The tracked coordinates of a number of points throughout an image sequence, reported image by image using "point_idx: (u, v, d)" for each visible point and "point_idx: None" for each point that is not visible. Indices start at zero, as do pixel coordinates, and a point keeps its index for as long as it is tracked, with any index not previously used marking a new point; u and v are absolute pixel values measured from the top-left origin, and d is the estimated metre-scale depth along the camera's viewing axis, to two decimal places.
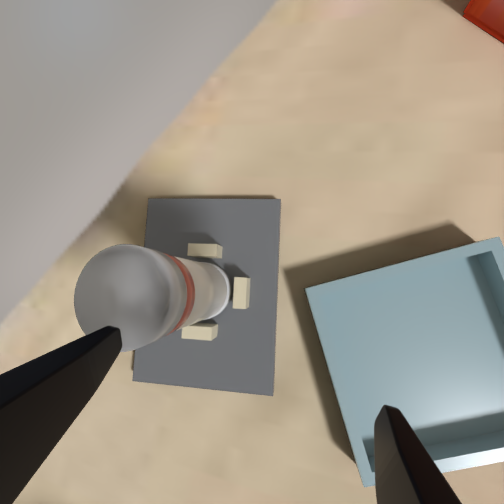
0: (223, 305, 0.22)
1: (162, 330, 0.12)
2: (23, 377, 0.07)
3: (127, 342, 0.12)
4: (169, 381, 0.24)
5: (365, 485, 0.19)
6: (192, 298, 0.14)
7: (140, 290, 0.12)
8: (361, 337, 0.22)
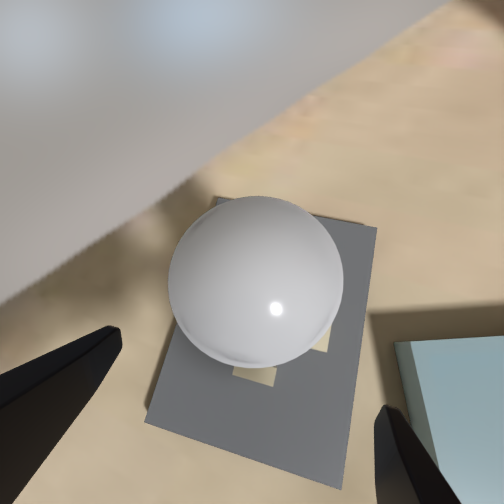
0: None
1: (314, 343, 0.07)
2: (23, 377, 0.07)
3: (251, 352, 0.07)
4: (195, 434, 0.17)
5: None
6: None
7: (286, 270, 0.07)
8: (474, 427, 0.16)
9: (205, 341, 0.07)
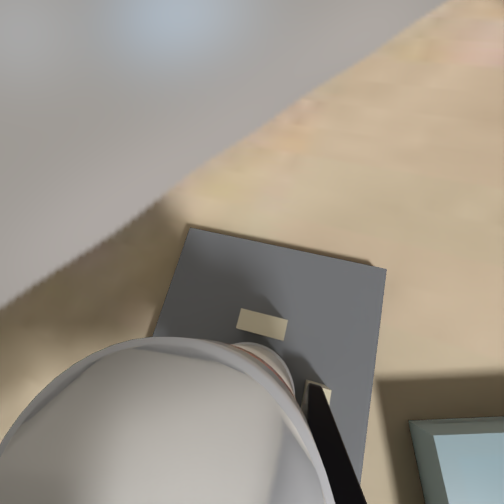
0: None
1: None
2: None
3: None
4: None
5: None
6: None
7: None
8: None
9: None
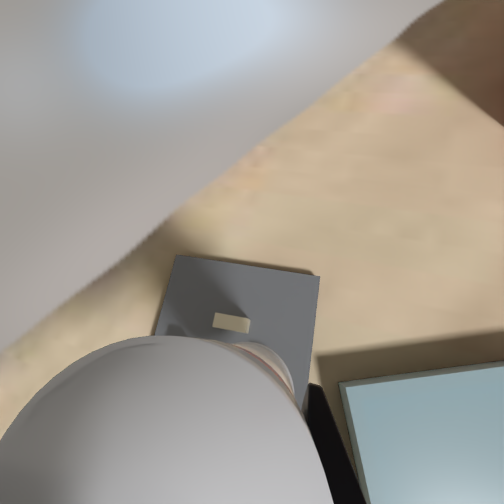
0: None
1: None
2: None
3: None
4: None
5: None
6: None
7: None
8: (406, 458, 0.18)
9: None
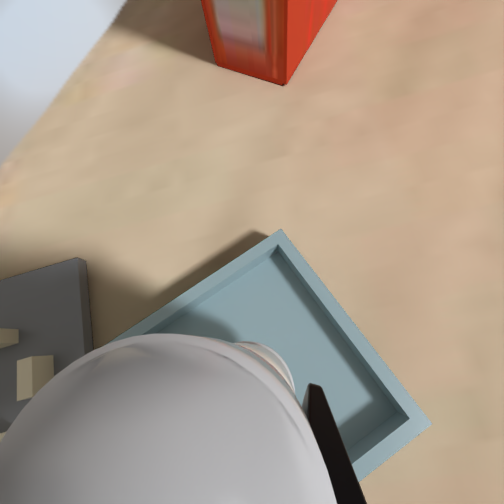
0: None
1: None
2: None
3: None
4: None
5: None
6: None
7: None
8: None
9: None
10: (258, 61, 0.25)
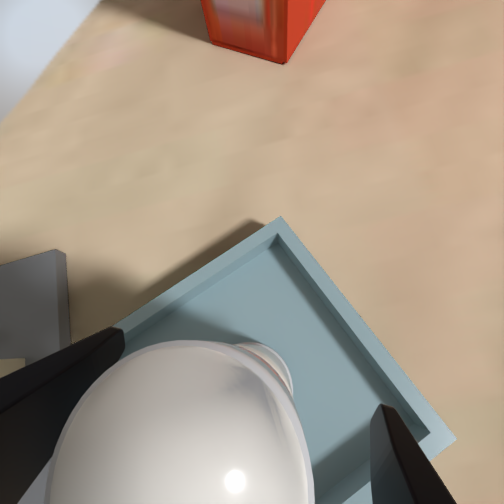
0: None
1: None
2: (27, 378, 0.07)
3: None
4: None
5: None
6: None
7: (225, 481, 0.05)
8: None
9: None
10: (256, 37, 0.23)
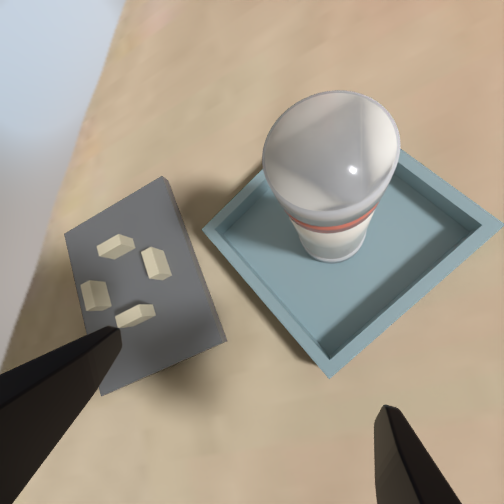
0: (360, 243, 0.19)
1: (383, 188, 0.09)
2: (23, 377, 0.07)
3: (336, 202, 0.09)
4: (131, 379, 0.23)
5: (329, 376, 0.18)
6: None
7: (352, 141, 0.10)
8: (274, 248, 0.22)
9: (300, 203, 0.10)
10: None
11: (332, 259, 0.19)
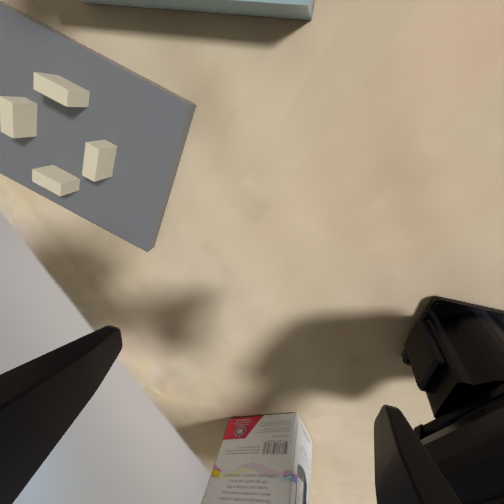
0: None
1: None
2: (23, 377, 0.07)
3: None
4: (153, 217, 0.22)
5: (306, 1, 0.13)
6: None
7: None
8: None
9: None
10: None
11: None
